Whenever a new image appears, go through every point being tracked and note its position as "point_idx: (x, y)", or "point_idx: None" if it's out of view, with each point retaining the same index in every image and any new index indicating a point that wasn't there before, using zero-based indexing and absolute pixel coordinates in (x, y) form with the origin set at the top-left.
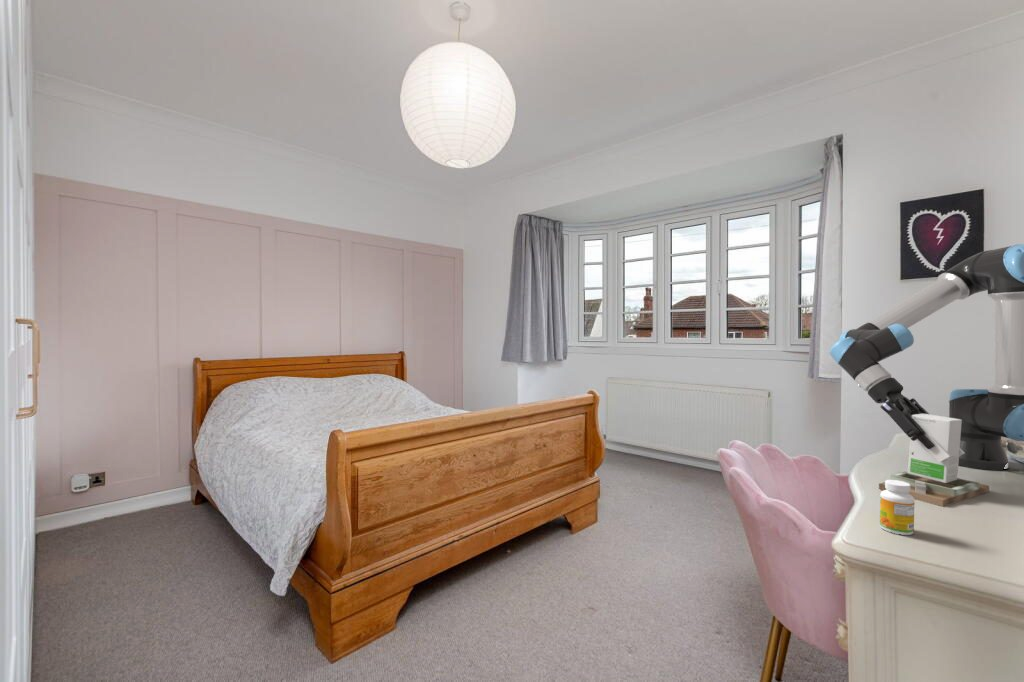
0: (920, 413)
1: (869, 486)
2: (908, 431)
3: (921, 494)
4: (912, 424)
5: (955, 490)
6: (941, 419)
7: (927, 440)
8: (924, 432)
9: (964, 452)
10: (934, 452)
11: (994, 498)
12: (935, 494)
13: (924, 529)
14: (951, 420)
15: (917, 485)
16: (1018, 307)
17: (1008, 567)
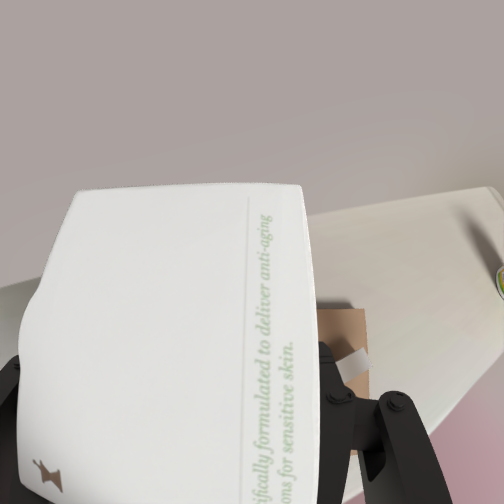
0: (33, 501)
1: (352, 474)
2: (370, 462)
3: (367, 353)
4: (403, 447)
5: None
6: (295, 249)
7: (334, 364)
8: (323, 392)
9: None
10: None
11: None
12: (332, 339)
13: (479, 270)
14: (262, 183)
15: (371, 363)
16: None
17: (472, 192)
